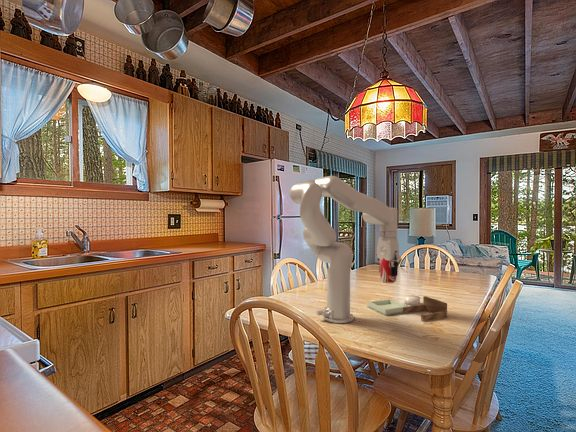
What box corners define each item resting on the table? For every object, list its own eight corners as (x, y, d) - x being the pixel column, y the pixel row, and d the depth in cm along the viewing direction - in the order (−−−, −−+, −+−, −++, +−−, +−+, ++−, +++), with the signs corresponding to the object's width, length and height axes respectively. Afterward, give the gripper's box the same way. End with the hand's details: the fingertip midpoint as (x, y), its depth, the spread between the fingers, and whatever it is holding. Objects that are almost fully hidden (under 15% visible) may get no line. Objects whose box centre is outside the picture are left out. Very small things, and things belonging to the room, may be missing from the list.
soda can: (385, 284, 145) (385, 257, 144) (377, 281, 152) (377, 255, 151) (399, 283, 147) (399, 256, 146) (390, 280, 153) (390, 254, 153)
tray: (385, 315, 141) (385, 309, 141) (367, 307, 153) (367, 301, 153) (409, 312, 146) (409, 306, 146) (389, 304, 158) (389, 298, 158)
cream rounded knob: (411, 307, 154) (411, 299, 154) (401, 302, 160) (401, 295, 160) (423, 305, 157) (423, 298, 157) (412, 301, 163) (412, 294, 163)
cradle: (422, 321, 134) (423, 306, 134) (402, 312, 145) (402, 299, 145) (447, 317, 139) (447, 303, 139) (425, 309, 150) (425, 296, 150)
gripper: (369, 233, 155) (369, 271, 156) (394, 236, 139) (394, 278, 140) (382, 233, 158) (382, 270, 158) (408, 236, 142) (408, 277, 142)
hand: (388, 273), depth 149 cm, fingers closed on soda can, 7 cm apart
